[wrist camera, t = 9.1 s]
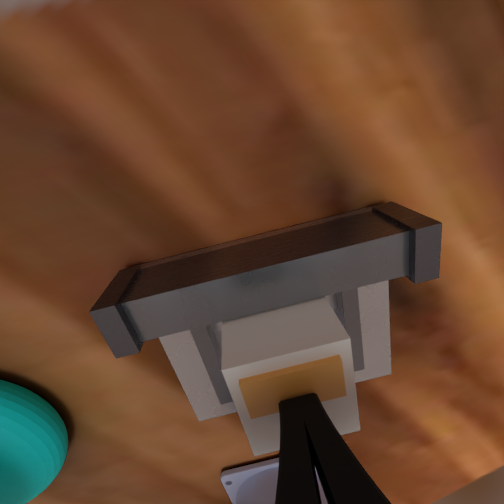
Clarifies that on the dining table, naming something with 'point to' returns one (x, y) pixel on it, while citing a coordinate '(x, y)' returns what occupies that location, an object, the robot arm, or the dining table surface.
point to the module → (288, 367)
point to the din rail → (270, 292)
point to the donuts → (28, 444)
